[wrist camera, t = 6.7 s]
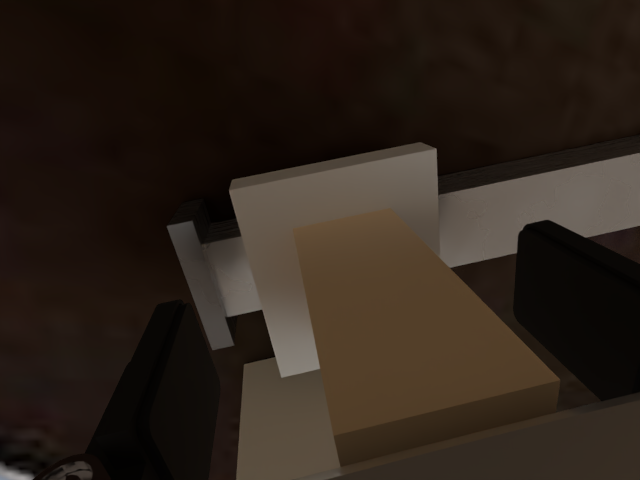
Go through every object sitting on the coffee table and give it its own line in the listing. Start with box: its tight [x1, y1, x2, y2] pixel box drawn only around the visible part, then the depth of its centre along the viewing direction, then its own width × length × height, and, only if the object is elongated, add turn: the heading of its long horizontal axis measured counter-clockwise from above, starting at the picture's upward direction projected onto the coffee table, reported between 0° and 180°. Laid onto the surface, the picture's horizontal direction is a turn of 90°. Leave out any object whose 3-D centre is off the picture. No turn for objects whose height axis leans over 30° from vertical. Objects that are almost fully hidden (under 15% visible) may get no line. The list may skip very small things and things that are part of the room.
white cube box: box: [236, 357, 340, 480], centre depth 15 cm, size 7×7×7 cm
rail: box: [167, 135, 640, 350], centre depth 14 cm, size 5×21×2 cm, turn 100°
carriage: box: [229, 142, 560, 467], centre depth 10 cm, size 7×6×10 cm
